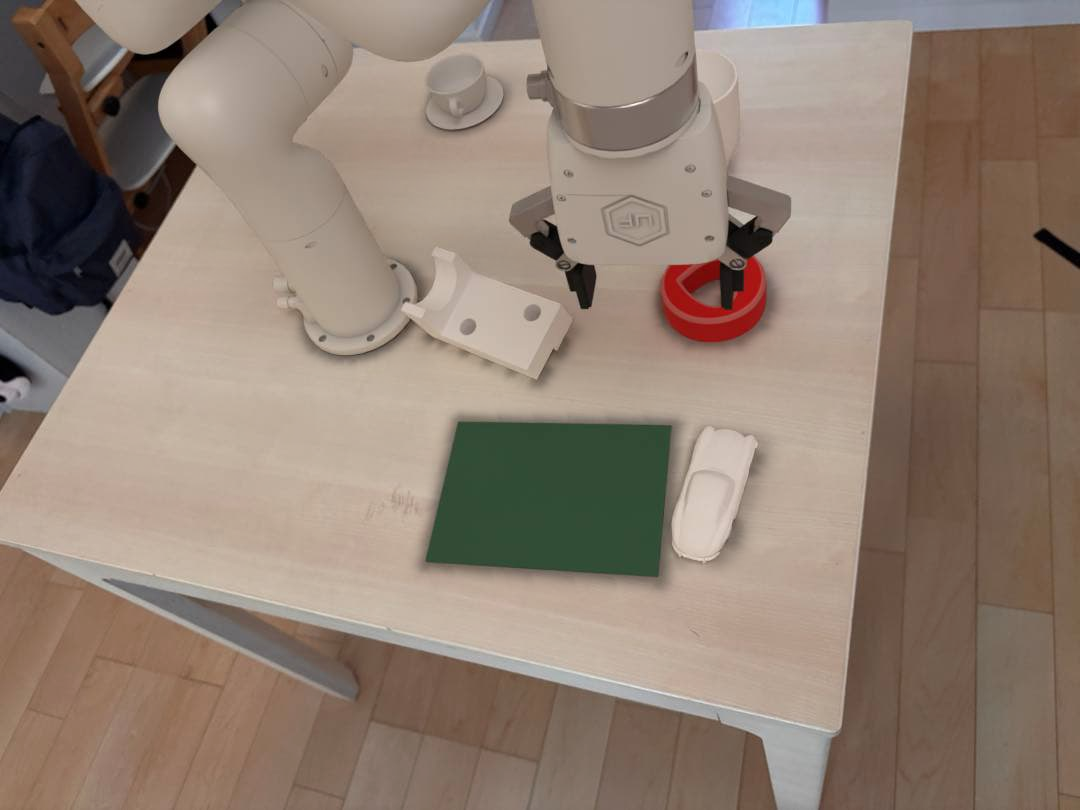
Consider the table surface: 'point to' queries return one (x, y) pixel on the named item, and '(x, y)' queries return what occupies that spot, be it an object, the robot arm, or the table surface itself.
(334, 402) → the table surface
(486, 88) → the teacup
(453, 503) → the cloth mat
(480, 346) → the bracket
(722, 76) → the mug
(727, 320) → the decorative ornament
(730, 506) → the toy car
